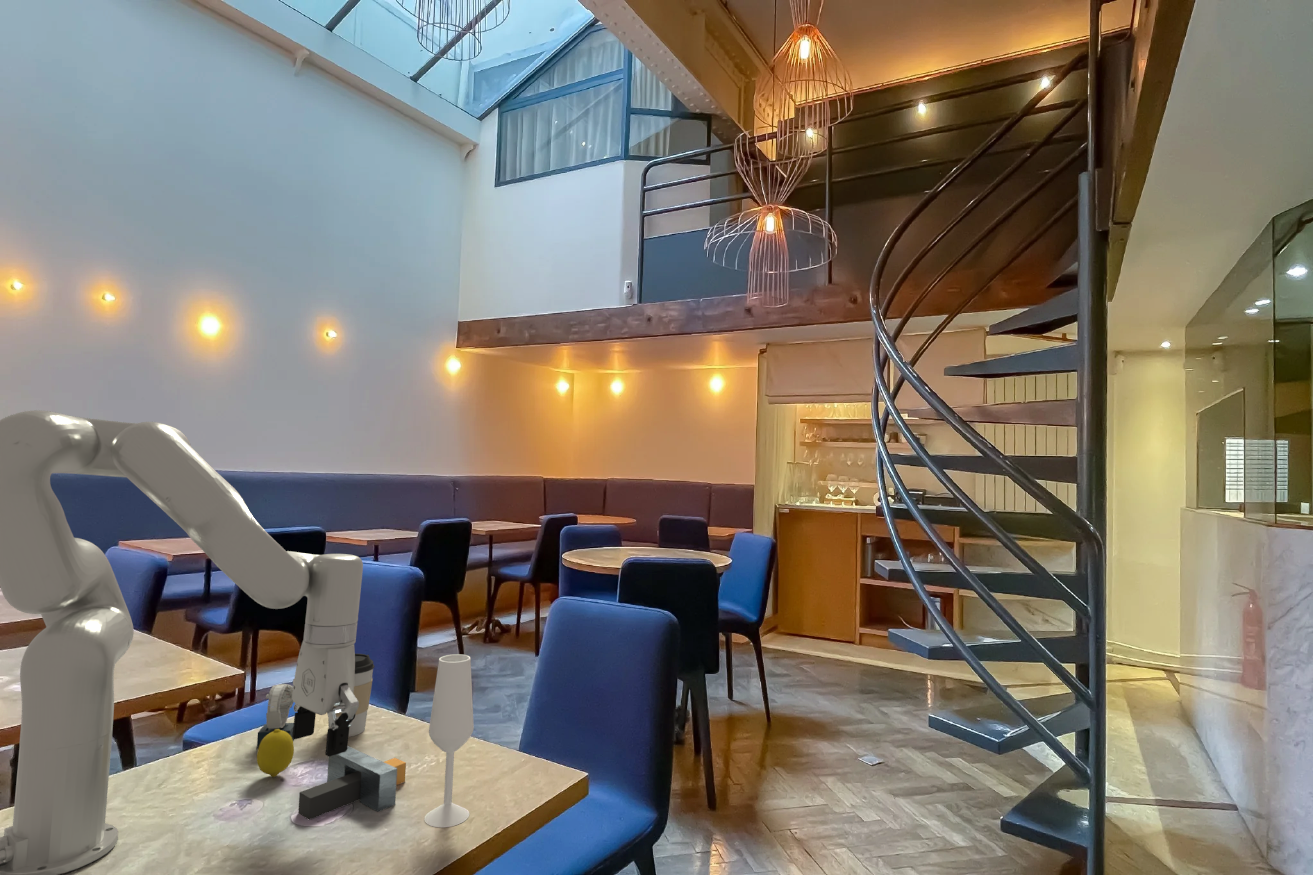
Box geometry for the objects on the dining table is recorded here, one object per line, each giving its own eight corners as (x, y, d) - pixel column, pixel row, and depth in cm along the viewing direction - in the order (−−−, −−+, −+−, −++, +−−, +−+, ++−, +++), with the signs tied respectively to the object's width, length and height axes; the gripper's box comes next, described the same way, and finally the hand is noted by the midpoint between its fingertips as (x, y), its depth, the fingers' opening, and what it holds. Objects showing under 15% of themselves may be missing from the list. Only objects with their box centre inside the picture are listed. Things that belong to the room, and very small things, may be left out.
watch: (297, 734, 133) (301, 678, 134) (286, 751, 126) (290, 691, 126) (266, 736, 132) (269, 679, 133) (253, 753, 124) (257, 692, 125)
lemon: (264, 787, 111) (267, 737, 112) (249, 777, 115) (253, 729, 115) (298, 776, 116) (301, 728, 116) (283, 767, 119) (286, 720, 119)
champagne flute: (447, 801, 108) (454, 650, 110) (478, 812, 105) (486, 656, 107) (414, 819, 102) (422, 659, 104) (447, 831, 99) (455, 666, 101)
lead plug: (309, 820, 101) (310, 798, 102) (298, 813, 103) (299, 792, 103) (404, 781, 115) (405, 762, 115) (393, 776, 117) (394, 757, 117)
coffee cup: (317, 740, 131) (321, 662, 132) (328, 723, 140) (332, 650, 141) (366, 737, 133) (371, 661, 134) (374, 721, 142) (378, 649, 143)
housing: (378, 811, 104) (380, 774, 105) (326, 784, 113) (329, 750, 113) (395, 804, 107) (397, 768, 107) (343, 778, 115) (345, 744, 116)
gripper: (279, 627, 108) (267, 736, 107) (337, 647, 98) (325, 768, 97) (324, 621, 114) (313, 724, 113) (383, 640, 104) (372, 753, 103)
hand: (319, 744), depth 105 cm, fingers open, 9 cm apart
